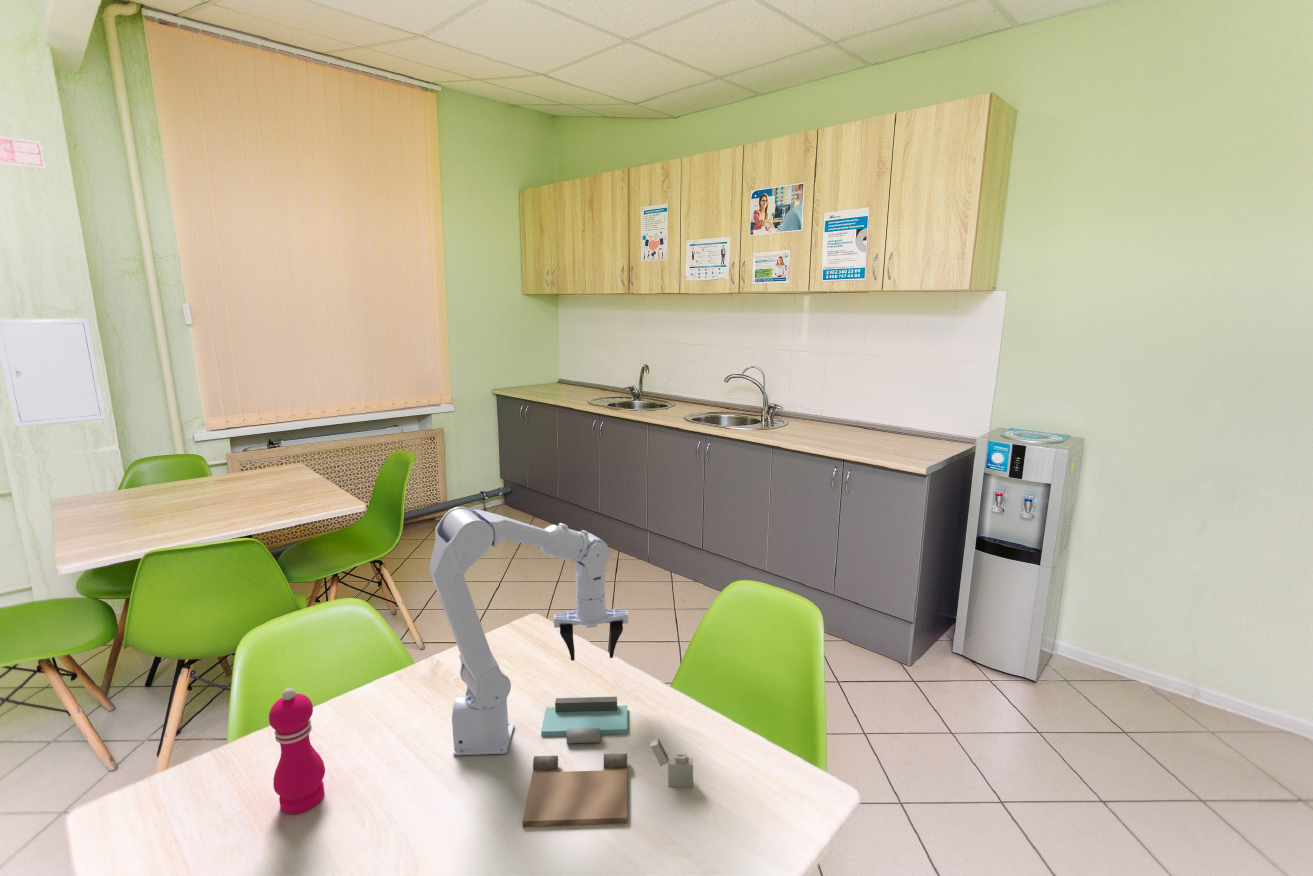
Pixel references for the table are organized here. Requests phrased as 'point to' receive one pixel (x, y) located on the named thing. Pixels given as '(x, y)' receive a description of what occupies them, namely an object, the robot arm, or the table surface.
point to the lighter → (674, 766)
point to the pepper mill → (296, 754)
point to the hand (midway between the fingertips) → (592, 656)
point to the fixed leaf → (577, 794)
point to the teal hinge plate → (585, 719)
